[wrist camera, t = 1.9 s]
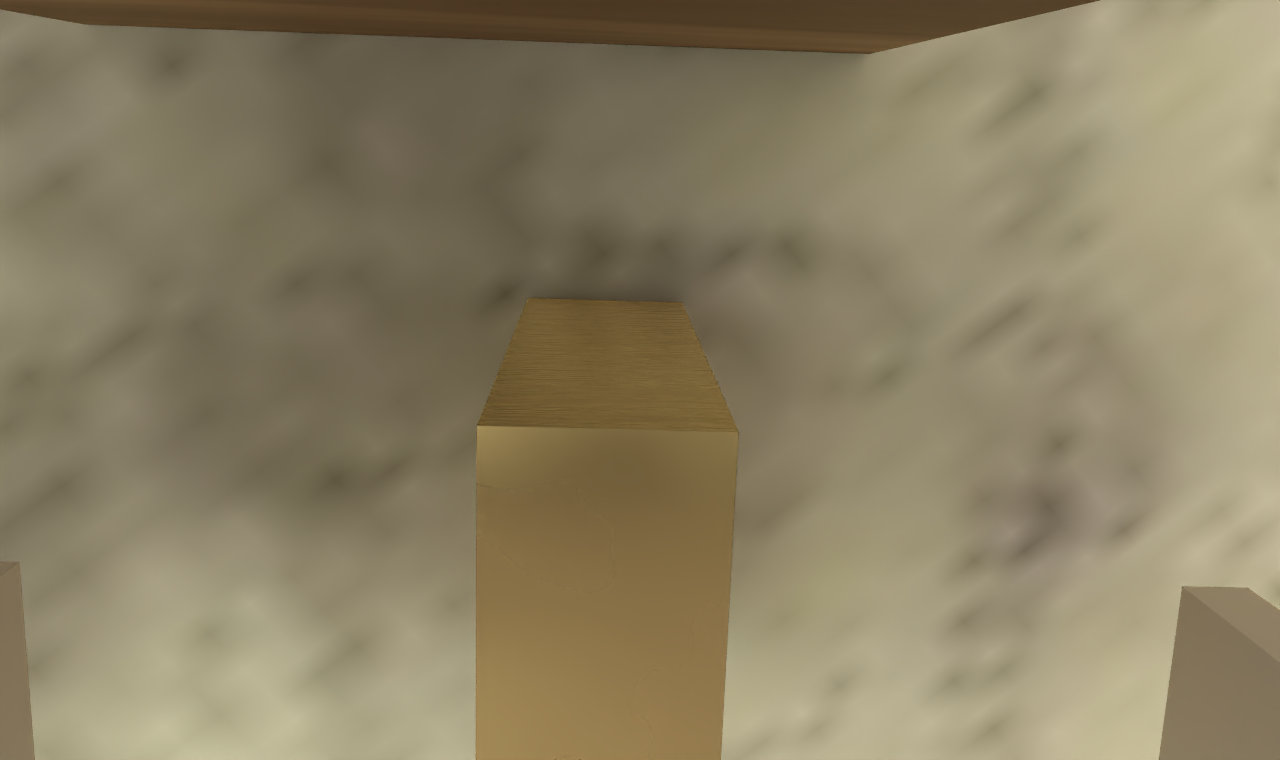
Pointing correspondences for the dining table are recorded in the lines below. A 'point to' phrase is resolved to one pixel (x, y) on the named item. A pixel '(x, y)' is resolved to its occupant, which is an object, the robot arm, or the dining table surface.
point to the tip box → (577, 19)
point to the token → (603, 538)
